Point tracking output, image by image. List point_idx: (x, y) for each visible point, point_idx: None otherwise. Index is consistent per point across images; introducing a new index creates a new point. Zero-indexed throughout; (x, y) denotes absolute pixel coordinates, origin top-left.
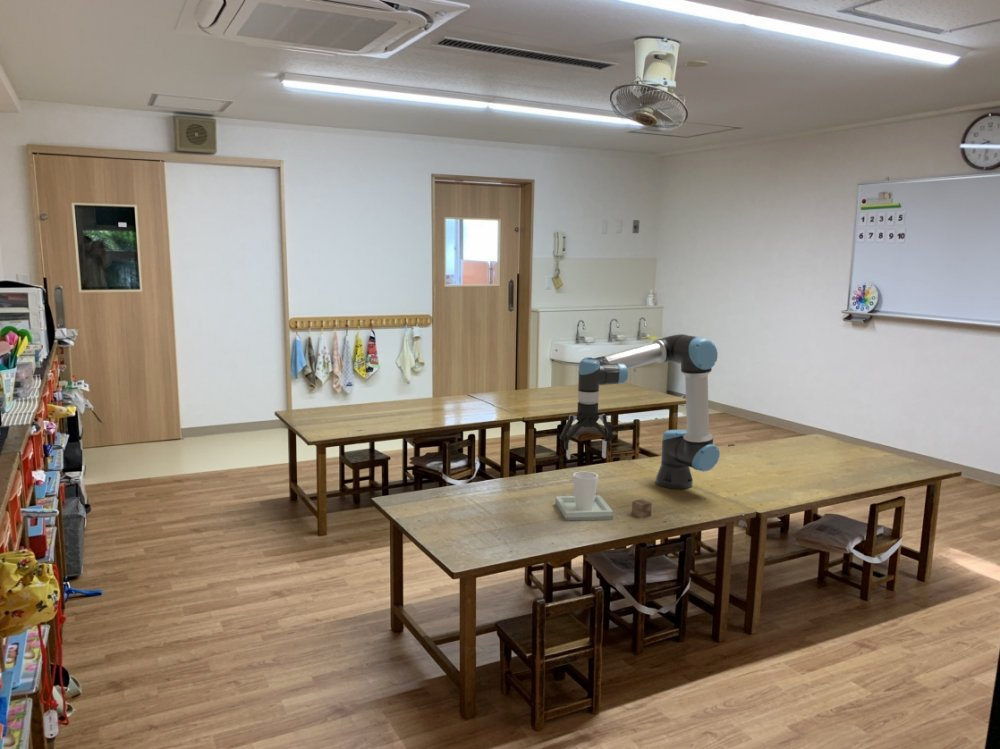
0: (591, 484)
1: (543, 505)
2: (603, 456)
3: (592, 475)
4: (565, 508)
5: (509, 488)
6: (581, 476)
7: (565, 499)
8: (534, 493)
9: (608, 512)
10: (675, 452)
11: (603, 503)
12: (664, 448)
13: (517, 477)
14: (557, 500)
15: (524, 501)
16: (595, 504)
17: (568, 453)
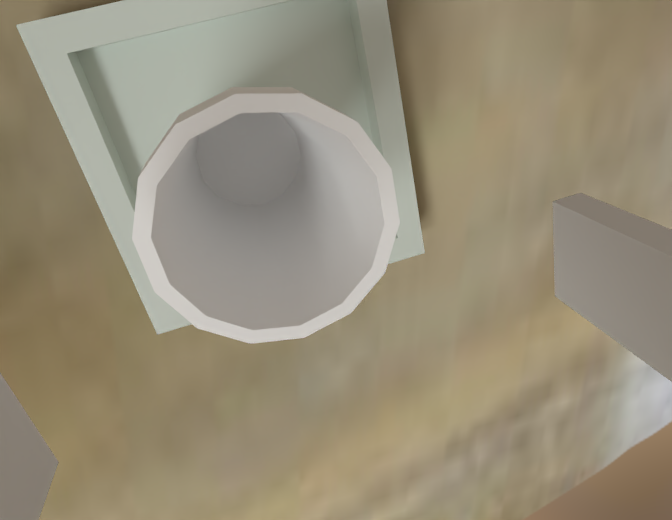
0: (201, 104)
1: (471, 202)
2: (7, 409)
3: (204, 299)
4: (378, 42)
5: (593, 382)
6: (305, 294)
7: None
8: (496, 353)
9: (55, 16)
10: None
11: (116, 190)
12: None
13: (541, 503)
14: (415, 205)
15: None
16: None
17: (652, 222)
